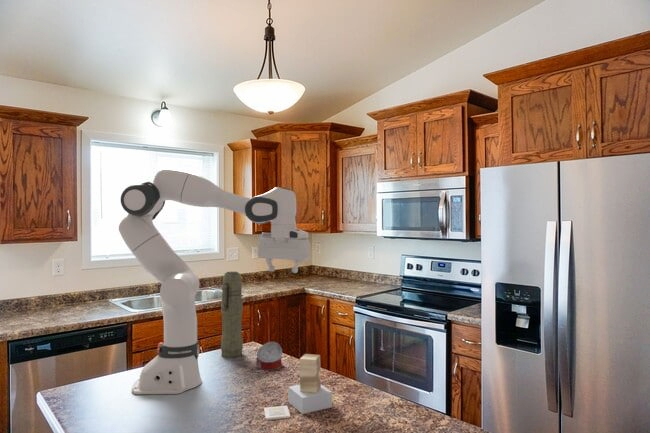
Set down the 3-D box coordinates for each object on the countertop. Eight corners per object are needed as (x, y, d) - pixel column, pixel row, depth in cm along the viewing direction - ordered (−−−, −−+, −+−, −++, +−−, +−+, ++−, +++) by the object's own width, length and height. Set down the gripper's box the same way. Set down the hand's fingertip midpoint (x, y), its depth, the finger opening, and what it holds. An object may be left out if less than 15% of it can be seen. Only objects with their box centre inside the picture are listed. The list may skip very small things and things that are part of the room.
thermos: (247, 351, 191) (247, 270, 192) (234, 360, 180) (235, 274, 180) (229, 350, 194) (229, 270, 194) (215, 358, 182) (215, 273, 183)
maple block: (315, 393, 133) (315, 360, 133) (300, 391, 135) (299, 358, 135) (320, 387, 138) (320, 355, 138) (305, 385, 140) (305, 353, 140)
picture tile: (266, 420, 126) (266, 417, 126) (263, 409, 133) (263, 407, 133) (290, 417, 127) (290, 414, 127) (287, 407, 134) (287, 405, 134)
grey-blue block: (302, 415, 130) (302, 398, 130) (288, 402, 139) (288, 386, 139) (331, 408, 135) (331, 391, 135) (316, 396, 143) (316, 381, 143)
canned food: (281, 376, 175) (292, 355, 173) (263, 380, 167) (273, 359, 165) (265, 357, 182) (275, 337, 180) (246, 360, 174) (256, 339, 172)
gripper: (254, 232, 158) (253, 270, 158) (304, 233, 150) (303, 274, 149) (263, 232, 164) (263, 269, 164) (312, 233, 155) (312, 272, 155)
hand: (283, 271), depth 157 cm, fingers open, 8 cm apart
